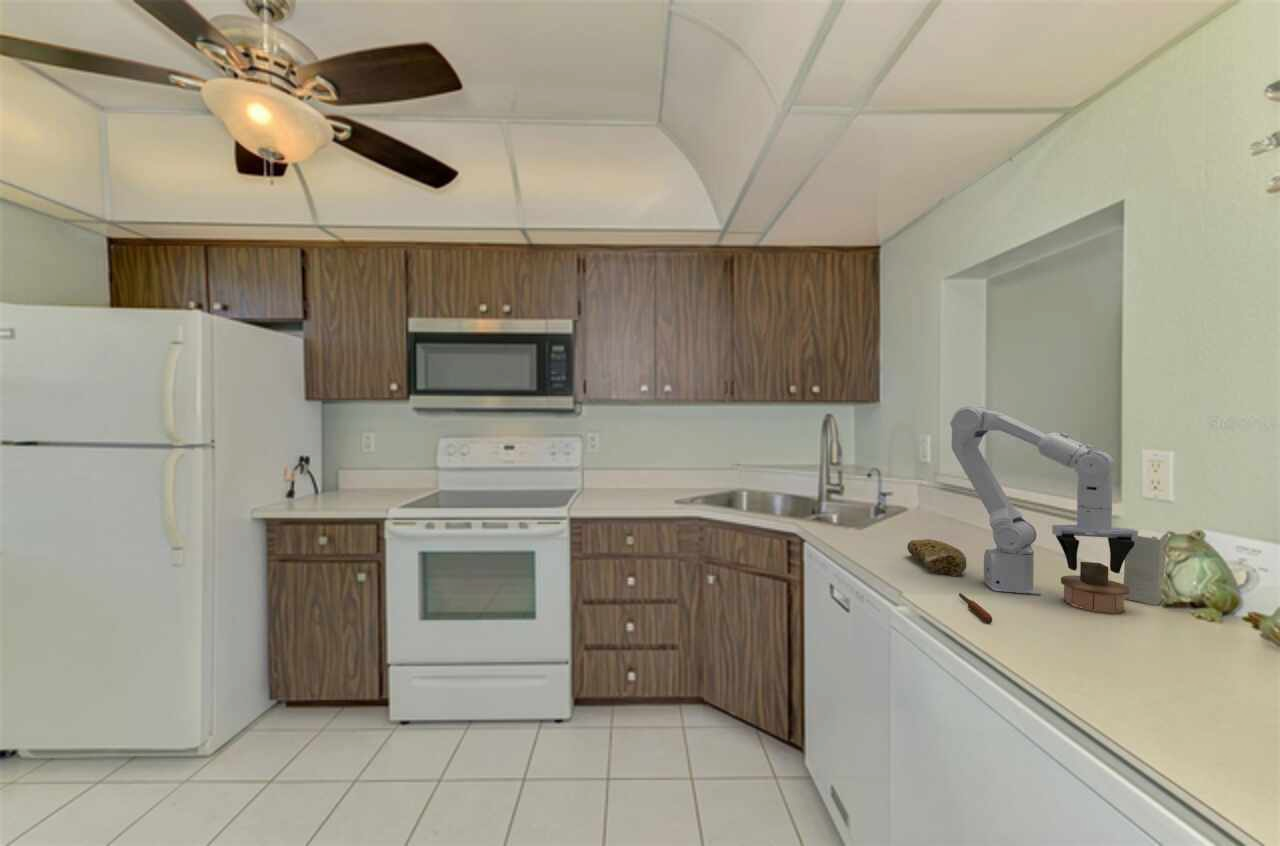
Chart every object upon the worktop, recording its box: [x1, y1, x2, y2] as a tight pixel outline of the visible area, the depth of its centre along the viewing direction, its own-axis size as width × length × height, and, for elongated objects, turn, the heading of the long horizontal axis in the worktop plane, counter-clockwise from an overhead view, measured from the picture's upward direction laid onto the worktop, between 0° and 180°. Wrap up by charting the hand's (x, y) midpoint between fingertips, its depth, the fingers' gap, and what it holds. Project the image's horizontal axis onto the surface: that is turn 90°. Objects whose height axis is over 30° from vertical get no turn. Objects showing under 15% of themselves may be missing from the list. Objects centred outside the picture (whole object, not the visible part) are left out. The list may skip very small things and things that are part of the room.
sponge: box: [906, 538, 967, 577], centre depth 147 cm, size 13×8×20 cm
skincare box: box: [1123, 528, 1167, 606], centre depth 121 cm, size 8×6×15 cm
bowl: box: [1063, 585, 1125, 614], centre depth 117 cm, size 9×9×4 cm
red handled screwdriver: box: [958, 592, 993, 624], centre depth 114 cm, size 16×1×2 cm, turn 169°
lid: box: [1060, 561, 1129, 595], centre depth 116 cm, size 11×11×5 cm
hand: (1093, 570), depth 117 cm, fingers open, 7 cm apart
